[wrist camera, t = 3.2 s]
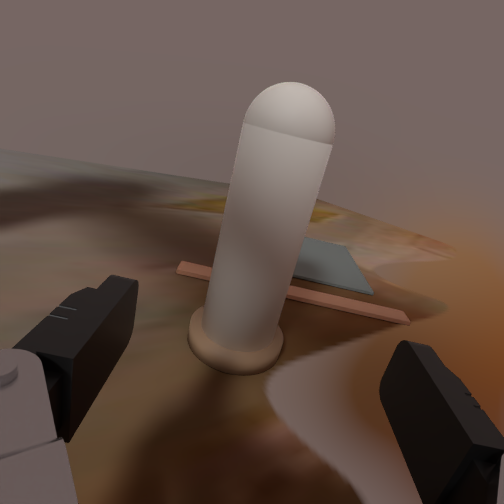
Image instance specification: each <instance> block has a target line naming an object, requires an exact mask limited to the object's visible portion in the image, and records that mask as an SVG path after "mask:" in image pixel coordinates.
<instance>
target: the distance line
mask: <svg viewBox="0 0 504 504" xmlns="http://www.w3.org/2000/svg"><path fill="white" fill-rule="evenodd" d="M211 272H212V267H208V266H203V265H199V264H194V263H190V262H186V261H181V263H180V264H179V266H178V268H177V270H176V273H177V274H181V275H186V276H190V277H195V278H199V279H204V280H208V281H210V277H211ZM286 298H288V299H292V300H297V301H301V302H306V303H310V304H315V305H319V306H323V307H328V308H332V309H337V310H341V311H346V312H350V313H355V314H359V315H363V316H368V317H372V318H377V319H381V320H386V321H390V322H394V323H399V324H403V325H408V326H409V325H410V323H411V322H410V320H409V319H408V317H407V316H406V315H405V313H404V312H403V311H401V310H397V309H392V308H388V307H383V306H379V305H375V304H370V303H366V302H361V301H357V300H353V299H348V298H344V297H339V296H335V295H331V294H326V293H322V292H317V291H313V290H309V289H304V288H300V287H295V286H291V285H290V286H289V289H288V292H287V295H286Z"/></svg>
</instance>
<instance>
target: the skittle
mask: <svg viewBox="0 0 504 504" xmlns="http://www.w3.org/2000/svg"><path fill="white" fill-rule="evenodd" d="M334 138H335V121H334V116H333V113H332V110H331V108H330V106H329V104H328V103H327V101H326V100H325V99H324V97H323V96H322V95H321V94H320V93H318V92H317V91H316V90H315V89H313V88H312V87H309V86H307V85H305V84H301V83H297V82H285V83H280V84H276V85H273V86H271V87H269V88H267V89H265V90H264V91H263V92H261V93H260V94H259V95H258V96H257V97H256V98H255V99H254V100H253V102H252V103H251V104H250V106H249V108H248V110H247V112H246V115H245V118H244V121H243V126H242V131H241V135H240V140H239V144H238V149H237V154H236V159H235V163H234V168H233V173H232V178H231V182H230V187H229V192H228V196H227V201H226V206H225V211H224V215H223V220H222V225H221V230H220V234H219V239H218V244H217V249H216V253H215V258H214V263H213V267H212V272H211V277H210V282H209V286H208V291H207V296H206V301H205V305H204V306H202V307H200V308H198V309H197V310H196V311H195V312H194V313H193V315H192V317H191V321H190V326H189V331H188V338H187V340H188V344H189V347H190V349H191V350H192V352H193V353H194V355H195V356H196V357H197V358H198V359H199V360H201V361H202V362H203V363H205V364H206V365H208V366H210V367H212V368H214V369H216V370H218V371H221V372H224V373H228V374H234V375H255V374H259V373H262V372H265V371H267V370H268V369H270V368H271V367H272V366H274V364H275V363H276V362H277V360H278V357H279V354H280V351H281V348H282V344H283V333H282V331H281V329H280V327H279V326H278V321H279V318H280V315H281V311H282V308H283V305H284V302H285V298H286V295H287V292H288V289H289V286H290V282H291V279H292V276H293V273H294V269H295V266H296V263H297V260H298V256H299V253H300V250H301V247H302V243H303V240H304V237H305V234H306V230H307V227H308V224H309V221H310V218H311V214H312V211H313V208H314V205H315V201H316V198H317V195H318V192H319V188H320V185H321V182H322V179H323V175H324V172H325V169H326V166H327V162H328V159H329V156H330V153H331V149H332V146H333V142H334Z"/></svg>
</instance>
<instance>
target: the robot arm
mask: <svg viewBox="0 0 504 504" xmlns="http://www.w3.org/2000/svg"><path fill="white" fill-rule="evenodd" d="M137 295H138V281H137V280H134V279H129V278H125V277H120V276H116V275H110V276H109V277H108V278H107V279H106V280H105V281H104V282H103V283H102V284H101V285H100V286H99V287H98V288H97V289H94V288H90V287H87V288H85V289H82V290H80V291H77V292H75V293H73V294H71V295H70V296H68V297H67V298H66V299H65V300H64V301H63V302H62V303H61V304H60V305H59V307H56V308H55V309H54V310H53V311H52V312H51V313H50V315H49V316H47V317H46V318H44V319H43V320H42V321H41V322H40V323H39V324H38V325H37V326H36V327H35V328H34V329H32V330H31V331H30V332H29V333H28V334H27V335H26V336H25V337H24V338H23V339H21V340H20V341H19V342H18V343H17V344H16V345H15V346H14V347H13V348H12V349H1V350H0V504H78V501H77V496H76V492H75V487H74V482H73V478H72V473H71V469H70V464H69V460H68V455H67V451H66V446H65V443H64V442H67V443H69V442H70V440H71V438H72V437H73V435H74V433H75V432H76V430H77V428H78V427H79V425H80V423H81V422H82V420H83V418H84V417H85V415H86V413H87V412H88V410H89V408H90V407H91V405H92V403H93V402H94V400H95V398H96V397H97V395H98V393H99V392H100V390H101V389H102V387H103V385H104V384H105V382H106V380H107V379H108V377H109V375H110V374H111V372H112V370H113V369H114V367H115V365H116V364H117V362H118V360H119V359H120V357H121V355H122V354H123V352H124V350H125V349H126V347H127V345H128V343H129V340H130V338H131V335H132V331H133V326H134V319H135V311H136V303H137ZM379 392H380V400H381V402H382V405H383V407H384V410H385V412H386V415H387V417H388V420H389V422H390V424H391V427H392V429H393V432H394V434H395V437H396V439H397V442H398V444H399V447H400V449H401V451H402V454H403V456H404V459H405V461H406V463H407V466H408V469H409V471H410V473H411V476H412V478H413V481H414V483H415V485H416V488H417V491H418V493H419V495H420V498H421V500H422V503H423V504H504V437H503V436H502V435H501V433H500V432H499V431H498V429H497V428H496V427H495V425H494V424H493V423H492V421H491V420H490V418H489V417H488V416H487V415H486V413H485V412H484V411H483V410H481V409H480V405H479V404H478V402H477V401H476V400H475V398H474V397H471V393H470V392H469V391H468V389H467V388H466V386H465V385H464V384H463V383H462V381H461V380H460V379H459V378H458V377H457V376H456V375H455V374H453V373H452V372H451V371H450V370H449V369H448V368H447V367H445V366H444V364H443V363H442V361H441V360H440V359H439V357H438V356H437V354H436V353H435V352H434V350H433V349H432V348H431V347H430V346H428V345H424V344H419V343H414V342H410V341H405V340H403V341H401V342H400V343H399V344H398V345H397V347H396V350H395V352H394V354H393V356H392V358H391V360H390V362H389V364H388V366H387V369H386V371H385V373H384V375H383V377H382V380H381V383H380V390H379Z"/></svg>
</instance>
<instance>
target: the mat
mask: <svg viewBox="0 0 504 504" xmlns="http://www.w3.org/2000/svg"><path fill="white" fill-rule="evenodd" d="M292 277H296V278H300V279H304V280H309V281H313V282H317V283H322V284H326V285H330V286H335V287H339V288H344V289H348V290H352V291H357V292H361V293H365V294H370V295H373V294H374V292H373V290H372V289H371V287H370V286H369V284H368V282H367V281H366V279H365V277H364V276H363V274H362V273H361V271H360V269H359V268H358V266H357V265H356V263H355V261H354V260H353V258H352V256H351V255H350V253H349V252H348V250H347V248H346V247H345V246H341V245H337V244H333V243H328V242H324V241H320V240H316V239H312V238H307V237H304V240H303V243H302V247H301V250H300V253H299V256H298V260H297V263H296V266H295V269H294V273H293V276H292Z"/></svg>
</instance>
